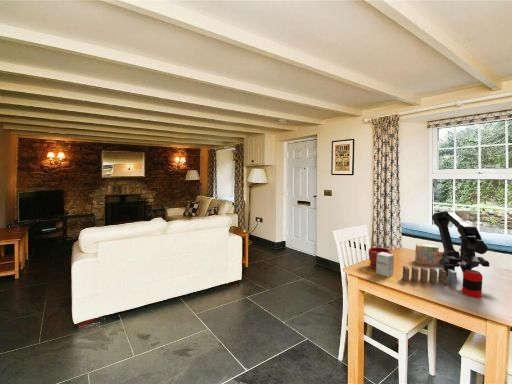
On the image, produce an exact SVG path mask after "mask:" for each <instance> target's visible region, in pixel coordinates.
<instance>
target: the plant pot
mask: <svg viewBox="0 0 512 384" xmlns="http://www.w3.org/2000/svg"><path fill="white" fill-rule="evenodd" d="M381 252H385V253H389V254H392V251H391V249H388V248H385V247H370V248H369V249H368V259H369V262H370V263H369V265H370V267H371V268H373V269H374V270H376V263H377V254H378V253H381Z"/></svg>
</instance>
